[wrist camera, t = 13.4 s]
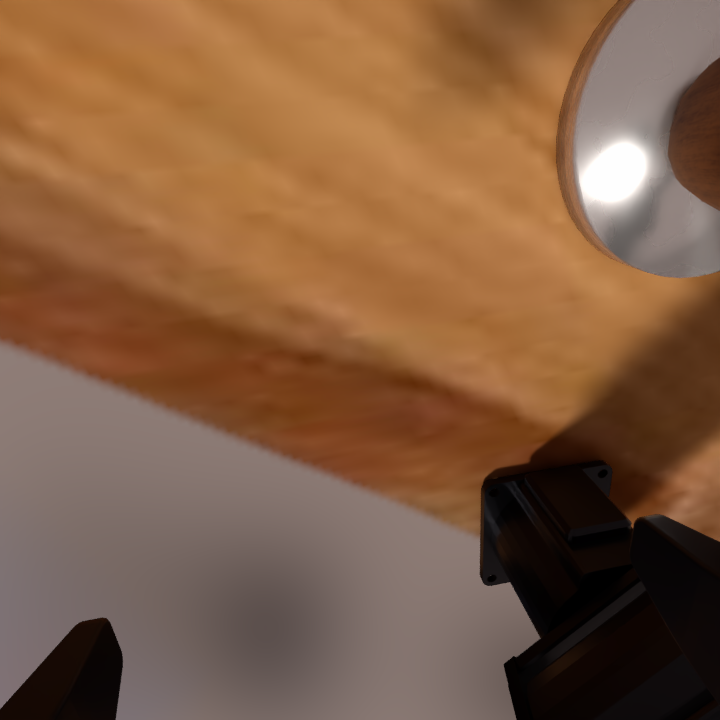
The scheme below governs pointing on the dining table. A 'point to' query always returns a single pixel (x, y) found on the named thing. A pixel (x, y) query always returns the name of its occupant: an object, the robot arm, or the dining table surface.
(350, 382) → the dining table surface
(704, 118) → the wooden figurine
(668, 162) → the plate
